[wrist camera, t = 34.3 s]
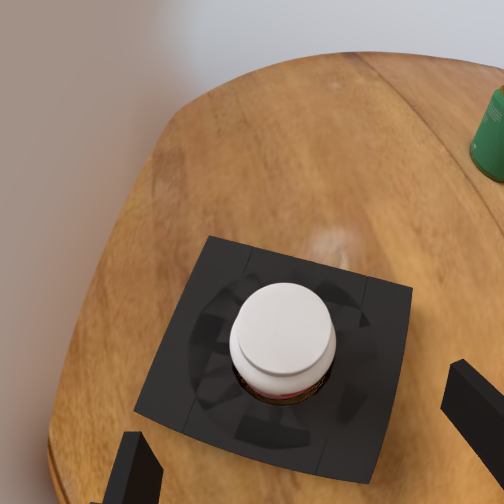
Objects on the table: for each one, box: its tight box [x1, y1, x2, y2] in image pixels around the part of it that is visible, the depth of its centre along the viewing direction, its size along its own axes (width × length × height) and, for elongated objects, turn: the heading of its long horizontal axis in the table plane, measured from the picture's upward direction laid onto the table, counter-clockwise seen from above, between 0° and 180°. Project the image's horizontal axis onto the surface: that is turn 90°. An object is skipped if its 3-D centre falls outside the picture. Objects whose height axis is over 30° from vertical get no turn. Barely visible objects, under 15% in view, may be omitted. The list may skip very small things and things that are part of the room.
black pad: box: [134, 236, 413, 484], centre depth 23 cm, size 18×16×3 cm
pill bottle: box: [230, 283, 336, 400], centre depth 20 cm, size 6×6×11 cm
